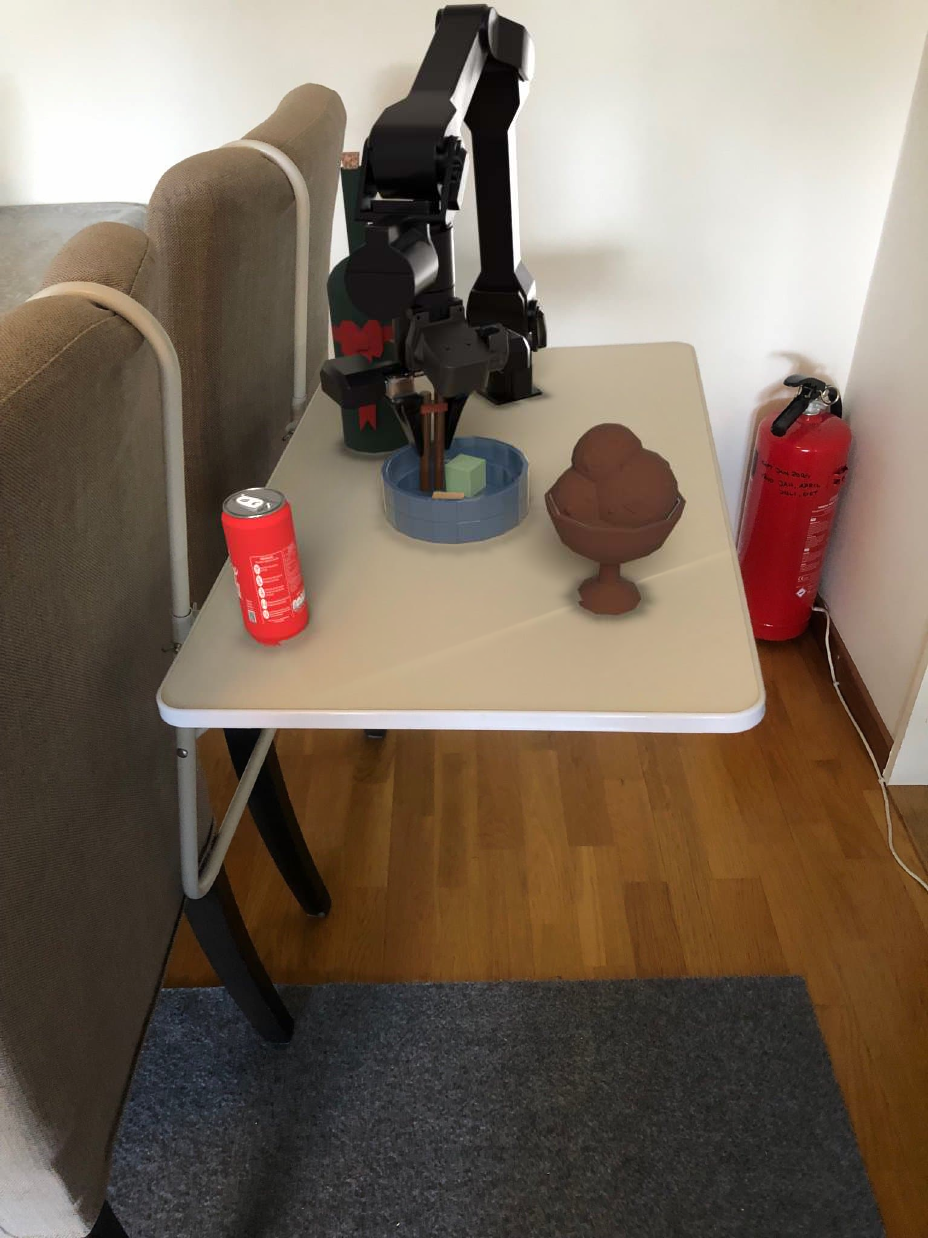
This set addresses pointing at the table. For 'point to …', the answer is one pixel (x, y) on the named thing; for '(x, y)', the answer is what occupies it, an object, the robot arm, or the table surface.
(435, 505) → the bowl
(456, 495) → the beech block
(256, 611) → the beverage can
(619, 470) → the ice cream bowl
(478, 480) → the sage block
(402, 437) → the wine bottle
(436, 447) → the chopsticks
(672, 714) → the table surface
